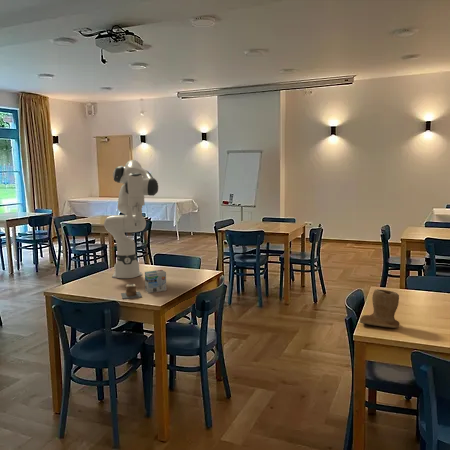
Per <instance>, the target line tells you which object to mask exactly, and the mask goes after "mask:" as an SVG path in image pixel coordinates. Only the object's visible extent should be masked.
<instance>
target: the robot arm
mask: <svg viewBox="0 0 450 450" xmlns="http://www.w3.org/2000/svg"><path fill="white" fill-rule="evenodd" d="M112 179H113V180H114V182H116V183H120V184H122V185H121V187H120V189H119V192H118V199H117V209H118V211H119V212H120V213H121V214H114V215H110V216H107V217H105V219H104V221H103V227H104V229H105V231H107V233H109V234H111V236H112V237H113V239H114V240H115V244H116V250H117V252H116V253H117V254H116V260H117V261H116V263H114V265H113V269H114V272H113V274H112V276H111V277H112V278H118V279H132V278H137V277H139V276H143V273H142V272H141V271H140V262H139V261H138V260H137V254H136V242H135V240H134V239H133V238H132V237H128V236H127V235H126V233H138V232H141V231H144V230H145V229H146V226H147V221H146V218H145V216H143V206H145V196H152V197H154V196H156V194H157V193H158V192H159V183H158V180H157V179H156V178H154V177H153V175H152V174H151V173H150V172H149V171H148V170H146V169H144V168H143V167H142V165H141V163H140V162H139V161H138V160H136V159H135V160H134V159H129V160H128V161H127V162H126V163H125V165H124V166H123V165H120V166H117V167H115V168H114V170H113V172H112Z"/></svg>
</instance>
